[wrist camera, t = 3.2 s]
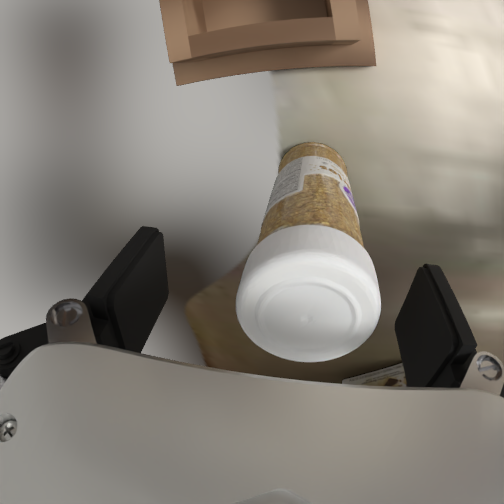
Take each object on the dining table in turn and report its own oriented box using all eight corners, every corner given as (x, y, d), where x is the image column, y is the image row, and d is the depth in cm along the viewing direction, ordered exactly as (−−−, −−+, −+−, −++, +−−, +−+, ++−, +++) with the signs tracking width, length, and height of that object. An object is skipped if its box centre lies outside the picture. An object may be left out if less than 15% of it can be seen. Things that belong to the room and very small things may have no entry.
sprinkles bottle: (360, 177, 20) (409, 327, 9) (309, 217, 22) (298, 382, 11) (314, 125, 19) (318, 224, 8) (262, 170, 21) (202, 310, 10)
